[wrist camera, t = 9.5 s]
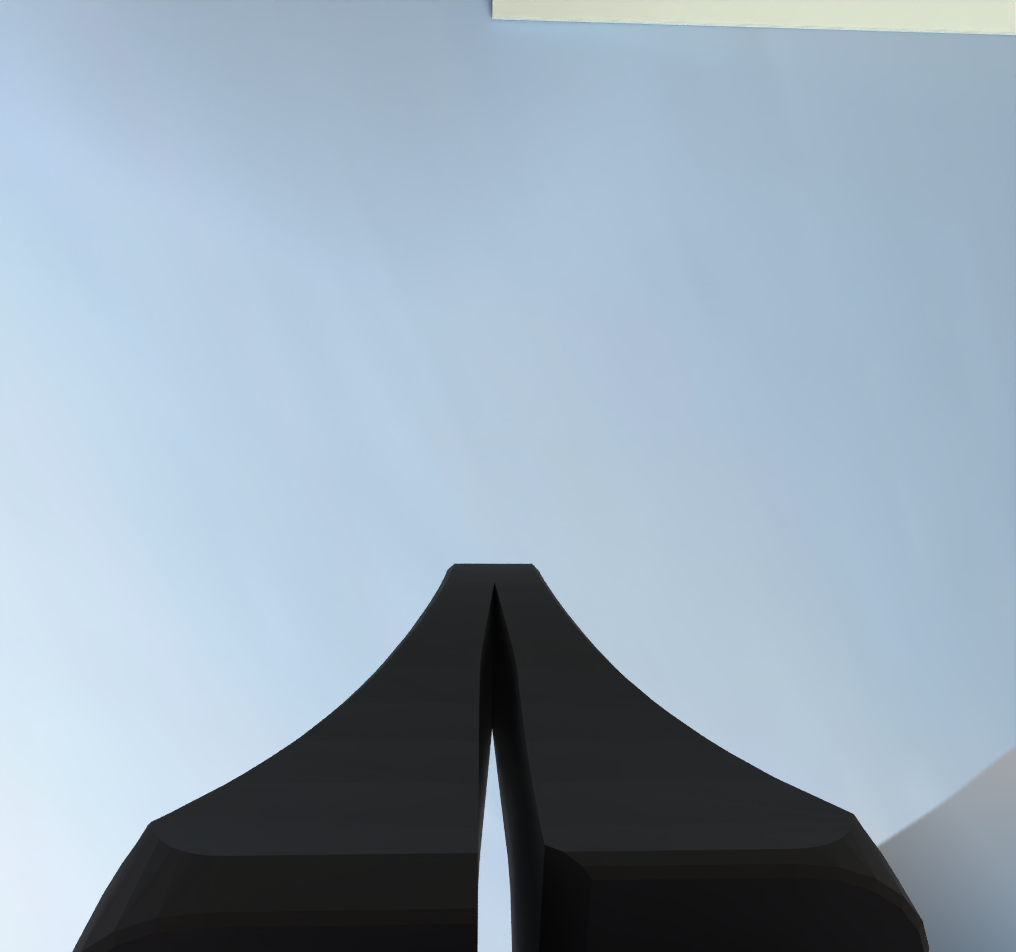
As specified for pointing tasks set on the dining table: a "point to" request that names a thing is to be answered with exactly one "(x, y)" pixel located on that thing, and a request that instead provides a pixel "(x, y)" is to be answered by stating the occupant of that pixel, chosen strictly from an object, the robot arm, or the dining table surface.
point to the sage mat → (779, 13)
